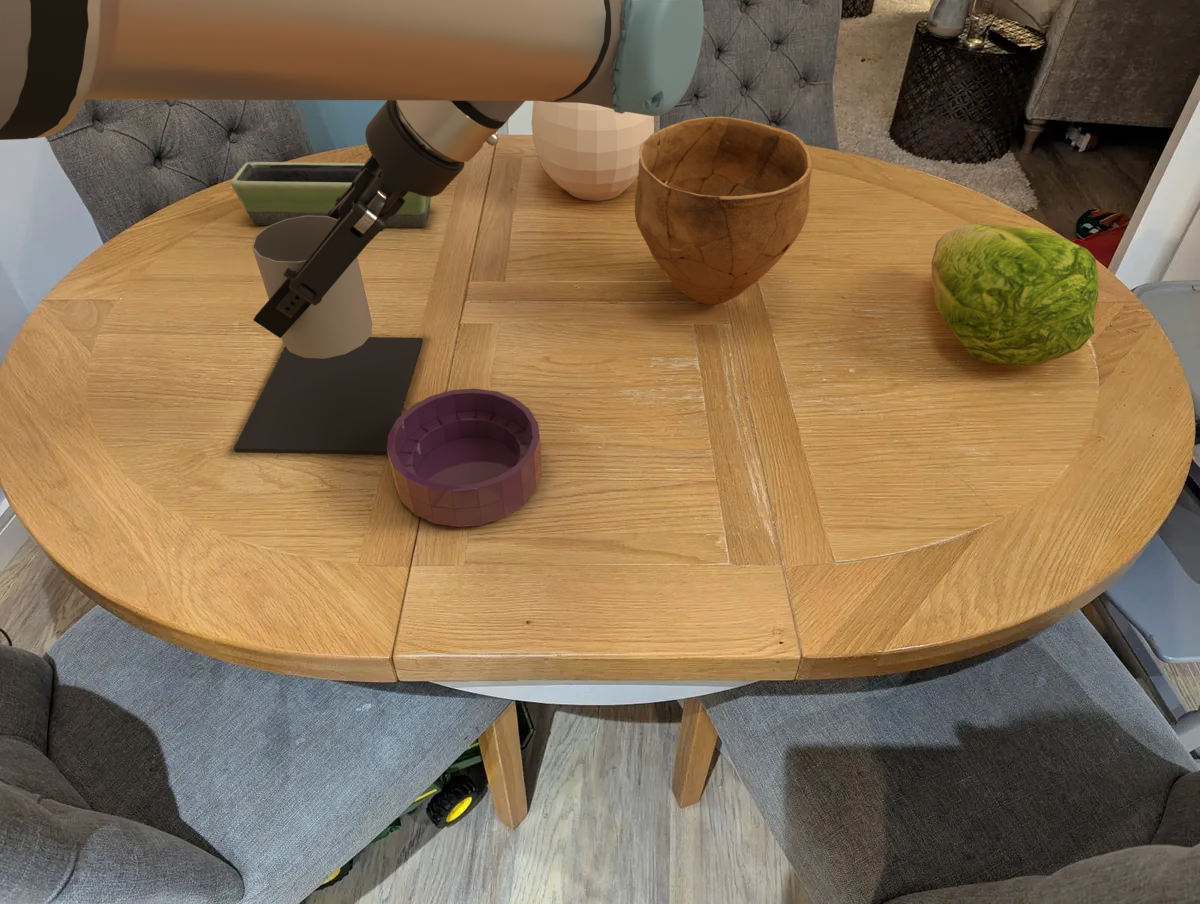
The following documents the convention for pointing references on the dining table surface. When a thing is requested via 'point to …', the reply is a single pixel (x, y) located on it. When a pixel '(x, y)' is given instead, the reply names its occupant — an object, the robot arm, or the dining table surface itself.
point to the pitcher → (589, 147)
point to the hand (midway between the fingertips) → (283, 299)
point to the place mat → (333, 400)
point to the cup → (341, 309)
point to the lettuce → (1015, 292)
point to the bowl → (721, 202)
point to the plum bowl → (465, 457)
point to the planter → (309, 192)
